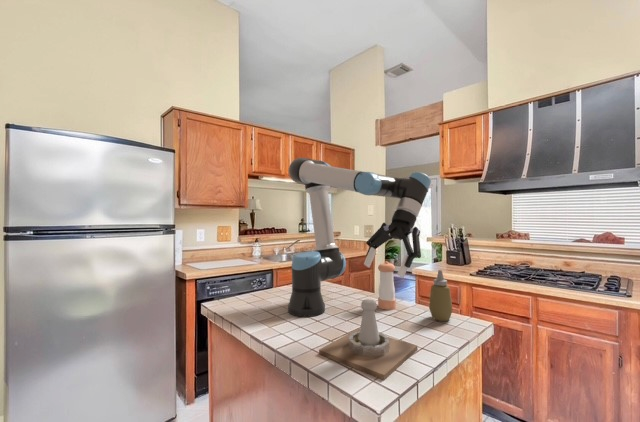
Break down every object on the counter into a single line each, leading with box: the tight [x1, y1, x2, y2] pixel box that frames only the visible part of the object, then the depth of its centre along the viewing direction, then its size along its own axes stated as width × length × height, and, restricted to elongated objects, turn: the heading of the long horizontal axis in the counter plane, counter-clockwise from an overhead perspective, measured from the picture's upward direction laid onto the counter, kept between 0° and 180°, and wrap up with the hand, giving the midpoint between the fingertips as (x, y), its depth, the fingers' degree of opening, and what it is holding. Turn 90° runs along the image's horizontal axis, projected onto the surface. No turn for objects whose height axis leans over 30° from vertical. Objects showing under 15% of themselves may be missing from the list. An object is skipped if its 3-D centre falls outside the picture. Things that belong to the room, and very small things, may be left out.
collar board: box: [318, 327, 418, 381], centre depth 81 cm, size 20×20×4 cm
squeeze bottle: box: [428, 269, 453, 322], centre depth 108 cm, size 8×8×18 cm
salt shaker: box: [359, 298, 380, 346], centre depth 82 cm, size 6×6×13 cm
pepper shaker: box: [377, 261, 397, 311], centre depth 122 cm, size 7×7×19 cm
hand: (382, 270), depth 93 cm, fingers open, 13 cm apart
